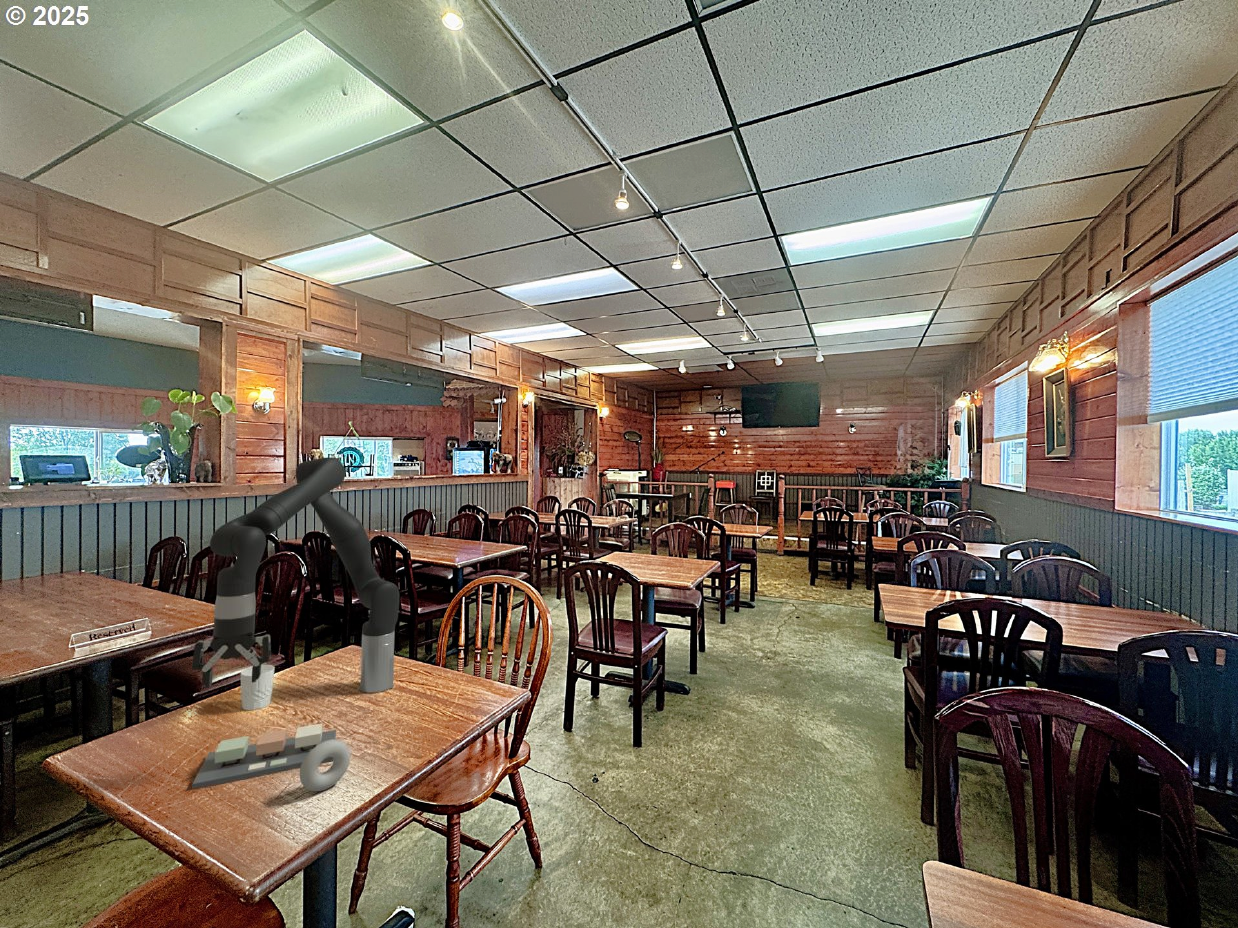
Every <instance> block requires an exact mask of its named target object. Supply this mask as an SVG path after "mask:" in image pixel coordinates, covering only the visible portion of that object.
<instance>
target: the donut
mask: <svg viewBox="0 0 1238 928" xmlns="http://www.w3.org/2000/svg"><path fill="white" fill-rule="evenodd" d="M310 750H311V751H310V752H309V753H308V755H307V756H306V757H305V759H304V761H303V763H302V765H301V768H299V769H300V771H299V781H300V783H301V785H302V786H303V788H305V789H307V790H309V791H310V792H320V791H324V790H327V789H329V788H331V787H333V786H334V785H336V784H337V783H338V782H339V781H340V780H341V779H342V778H343V776H344V775H345V774H346V772H347V771H348V768H349V765H350V763H351V757H352V756H351V754H352V753H351V751H350V750H351V749H350V748H349V746H348V744H347V743H346V742H345V741H343V740H340V739H335V740H334V739H332V740H328V741H324V742H322V743H321V744H319V745H317V746H316V747H314V748H311V749H310ZM328 757H332V758H333V761H332V764H331V766H330V767H329V768H328V769H327V770H325V771H324V772H323V771H322V772H319V767H320V765H321V764H322V763H321V762H322V761H323V760H324V759H326V758H328ZM320 763H321V764H320Z"/></svg>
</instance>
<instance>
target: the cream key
mask: <svg viewBox="0 0 1238 928" xmlns="http://www.w3.org/2000/svg"><path fill="white" fill-rule="evenodd" d="M322 732H323V723H316V724H311V725H306V726H300V727H299V726H298V727H297V730H296V734H295V736H294V737H295V748H299V747H303V749H305V750H309V749H308V748H310V749H313V747H314V745H315V744H321V737H322Z"/></svg>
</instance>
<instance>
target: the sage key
mask: <svg viewBox="0 0 1238 928" xmlns="http://www.w3.org/2000/svg"><path fill="white" fill-rule="evenodd" d="M249 739H250V736H248V735H247V736H241V737H236V738H229V739H224V740H221V741H220V742H219V744H218V746H217V748H216V750H215V751H216V752H215V763H219V762H225V764H226V765H230V764H229V763H231V764H235V763H234V762H237V760H238V759H241V758H244V756H245V753H246V751H247V748H248V745H249ZM237 763H238V762H237Z"/></svg>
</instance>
